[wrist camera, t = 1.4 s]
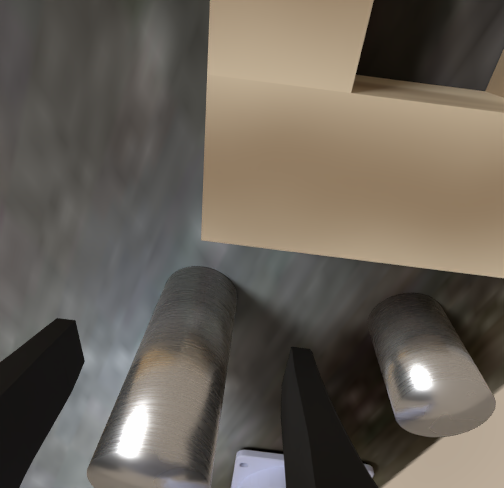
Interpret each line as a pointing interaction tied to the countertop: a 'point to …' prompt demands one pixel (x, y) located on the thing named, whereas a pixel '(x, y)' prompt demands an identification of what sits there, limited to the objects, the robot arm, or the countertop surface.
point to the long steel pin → (172, 390)
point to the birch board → (345, 145)
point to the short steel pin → (427, 368)
